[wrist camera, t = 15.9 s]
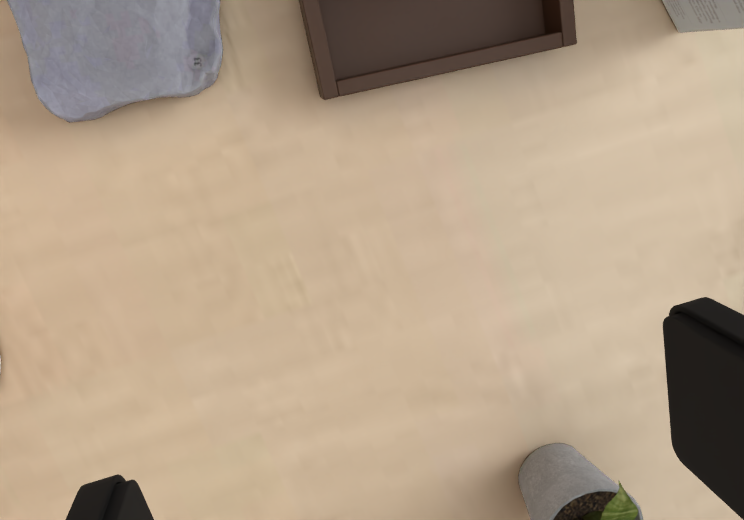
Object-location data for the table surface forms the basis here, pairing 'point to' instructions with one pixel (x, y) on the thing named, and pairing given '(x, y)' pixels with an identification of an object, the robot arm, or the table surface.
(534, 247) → the table surface
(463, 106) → the table surface
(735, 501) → the robot arm
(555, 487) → the house plant
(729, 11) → the small box
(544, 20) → the tray
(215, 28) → the stone block
